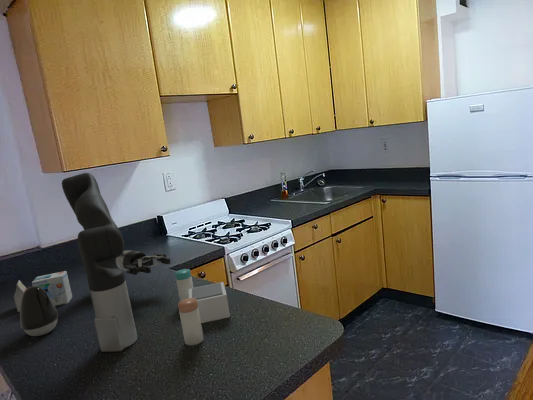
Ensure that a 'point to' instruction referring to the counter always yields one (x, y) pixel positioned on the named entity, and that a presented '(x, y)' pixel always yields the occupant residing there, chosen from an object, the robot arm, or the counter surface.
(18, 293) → the sunburst logo carton
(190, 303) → the white spice bottle
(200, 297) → the grey unit
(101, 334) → the robot arm
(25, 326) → the dark grey rounded pod
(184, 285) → the teal capped canister
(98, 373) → the counter surface
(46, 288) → the light bulb box
